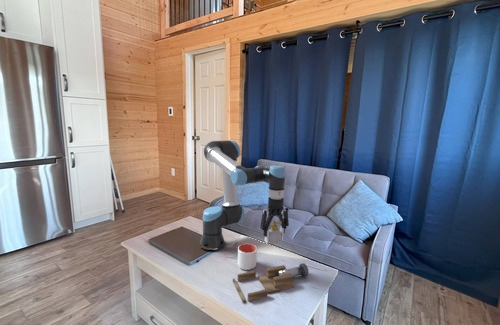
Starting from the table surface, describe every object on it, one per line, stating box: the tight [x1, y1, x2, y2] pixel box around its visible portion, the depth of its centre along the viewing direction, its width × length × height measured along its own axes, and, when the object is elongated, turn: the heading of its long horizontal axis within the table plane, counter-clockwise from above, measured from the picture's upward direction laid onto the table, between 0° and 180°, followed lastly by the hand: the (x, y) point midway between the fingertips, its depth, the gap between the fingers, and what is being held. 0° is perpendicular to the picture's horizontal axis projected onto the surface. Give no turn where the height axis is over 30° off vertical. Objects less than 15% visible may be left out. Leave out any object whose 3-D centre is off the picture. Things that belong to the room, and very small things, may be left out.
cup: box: [237, 243, 258, 271], centre depth 126 cm, size 10×10×10 cm
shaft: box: [277, 262, 309, 278], centre depth 117 cm, size 6×15×6 cm, turn 111°
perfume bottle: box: [268, 217, 285, 244], centre depth 120 cm, size 8×10×12 cm
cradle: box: [232, 264, 295, 304], centre depth 111 cm, size 15×26×5 cm, turn 111°
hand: (273, 240), depth 120 cm, fingers closed on perfume bottle, 8 cm apart
